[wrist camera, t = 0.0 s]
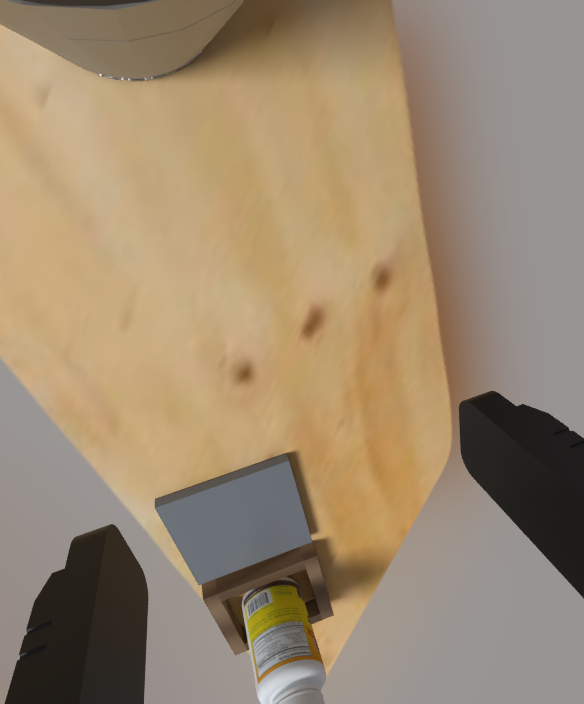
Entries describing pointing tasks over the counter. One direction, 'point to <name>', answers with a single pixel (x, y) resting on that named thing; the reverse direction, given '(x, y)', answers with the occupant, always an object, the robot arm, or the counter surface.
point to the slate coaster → (236, 519)
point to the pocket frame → (257, 577)
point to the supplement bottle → (282, 645)
